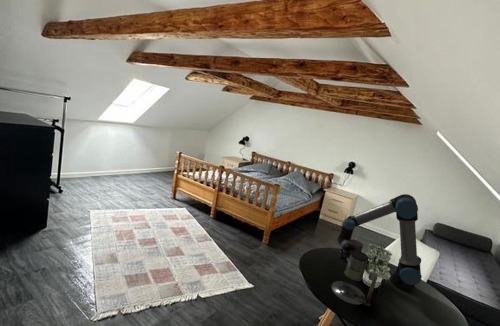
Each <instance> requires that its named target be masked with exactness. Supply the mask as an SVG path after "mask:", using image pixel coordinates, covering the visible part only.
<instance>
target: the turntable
mask: <svg viewBox="0 0 500 326" xmlns="http://www.w3.org/2000/svg"><path fill="white" fill-rule="evenodd" d="M331 291H332V292H333V294H334V295H335V296H336V297H338V299H339V300H341V301H343V302H345V303H347V304H351V305H357V306H359V305H364V304H363V300H366V295H365V294H364V292H363V291H362V290H361V289H360V288H358V287H357V286H356V285H354V284H352V283H350V282H347V281H342V280H337V281H334V282H333V283H332V284H331Z"/></svg>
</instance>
